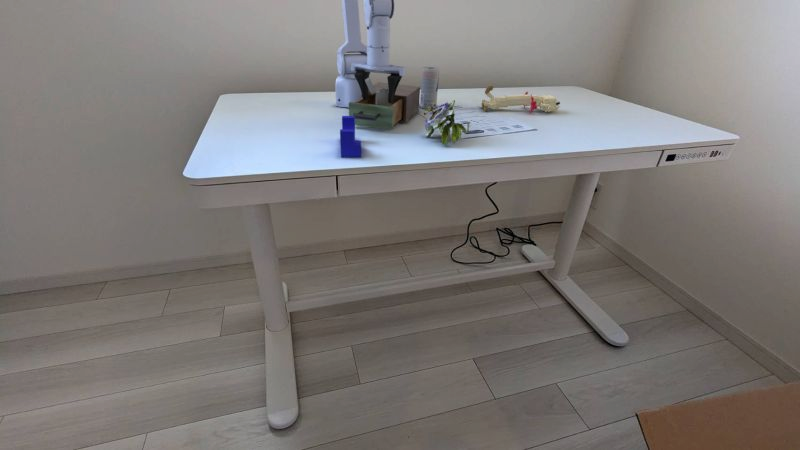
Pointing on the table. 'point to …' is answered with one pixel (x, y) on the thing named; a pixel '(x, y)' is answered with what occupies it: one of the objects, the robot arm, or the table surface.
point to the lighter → (379, 94)
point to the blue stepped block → (349, 138)
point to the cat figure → (520, 101)
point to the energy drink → (429, 86)
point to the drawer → (376, 113)
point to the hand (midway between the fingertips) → (377, 100)
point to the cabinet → (409, 96)
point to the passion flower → (440, 118)
